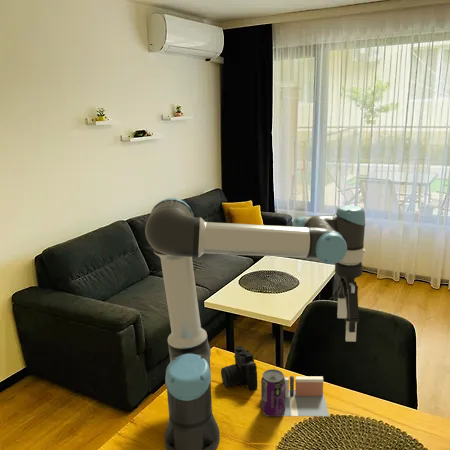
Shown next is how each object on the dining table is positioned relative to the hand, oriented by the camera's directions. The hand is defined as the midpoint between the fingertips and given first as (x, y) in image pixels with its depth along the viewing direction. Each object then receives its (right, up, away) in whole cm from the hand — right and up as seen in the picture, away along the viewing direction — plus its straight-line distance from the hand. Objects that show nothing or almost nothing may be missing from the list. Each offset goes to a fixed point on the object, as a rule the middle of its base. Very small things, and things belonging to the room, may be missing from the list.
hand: (346, 328), depth 128 cm
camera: (-31, -22, +17) cm, 42 cm away
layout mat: (-14, -24, +5) cm, 28 cm away
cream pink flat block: (-9, -23, +8) cm, 26 cm away
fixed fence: (-19, -23, +9) cm, 31 cm away
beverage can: (-21, -25, +2) cm, 33 cm away
